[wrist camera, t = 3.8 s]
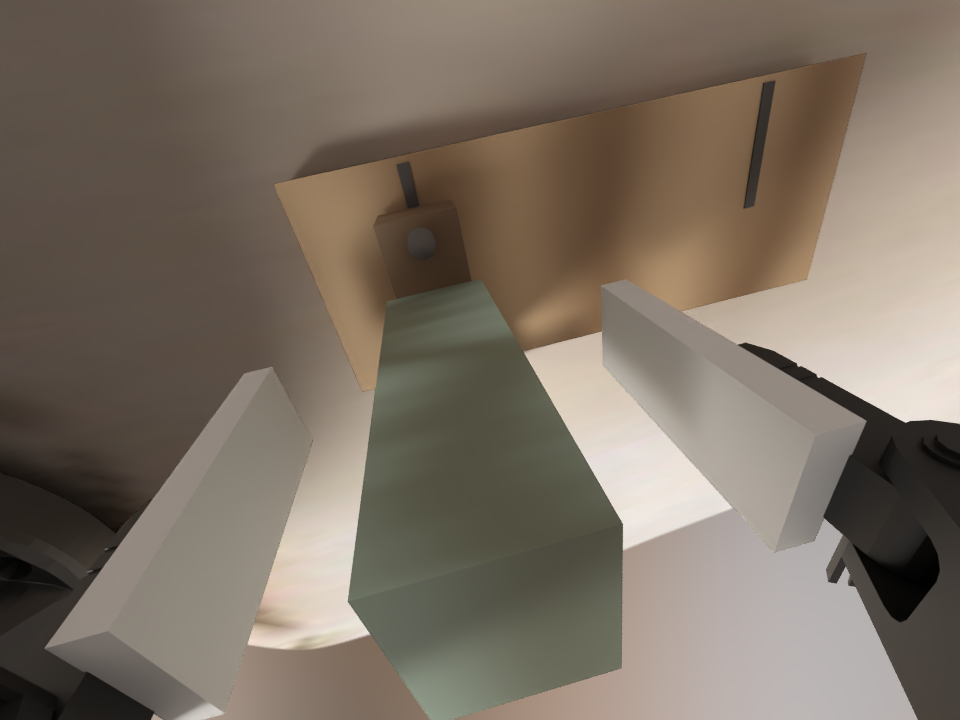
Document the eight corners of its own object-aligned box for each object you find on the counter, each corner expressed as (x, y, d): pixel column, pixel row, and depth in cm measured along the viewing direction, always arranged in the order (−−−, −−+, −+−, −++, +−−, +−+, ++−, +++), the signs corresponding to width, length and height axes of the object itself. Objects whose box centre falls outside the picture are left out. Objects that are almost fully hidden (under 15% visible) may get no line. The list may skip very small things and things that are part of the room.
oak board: (366, 368, 17) (362, 392, 16) (290, 179, 13) (272, 184, 12) (769, 267, 18) (808, 279, 17) (811, 64, 14) (868, 52, 13)
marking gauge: (397, 398, 18) (382, 794, 7) (331, 220, 13) (33, 501, 3) (521, 366, 18) (696, 695, 7) (493, 183, 14) (801, 303, 3)
